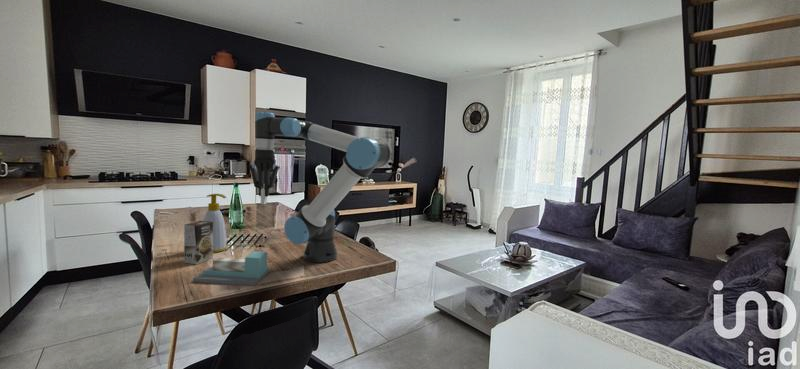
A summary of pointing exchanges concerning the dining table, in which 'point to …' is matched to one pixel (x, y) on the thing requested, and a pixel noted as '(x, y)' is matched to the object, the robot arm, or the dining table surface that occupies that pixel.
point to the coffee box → (198, 242)
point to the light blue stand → (251, 276)
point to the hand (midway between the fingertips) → (263, 203)
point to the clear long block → (229, 264)
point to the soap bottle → (216, 224)
